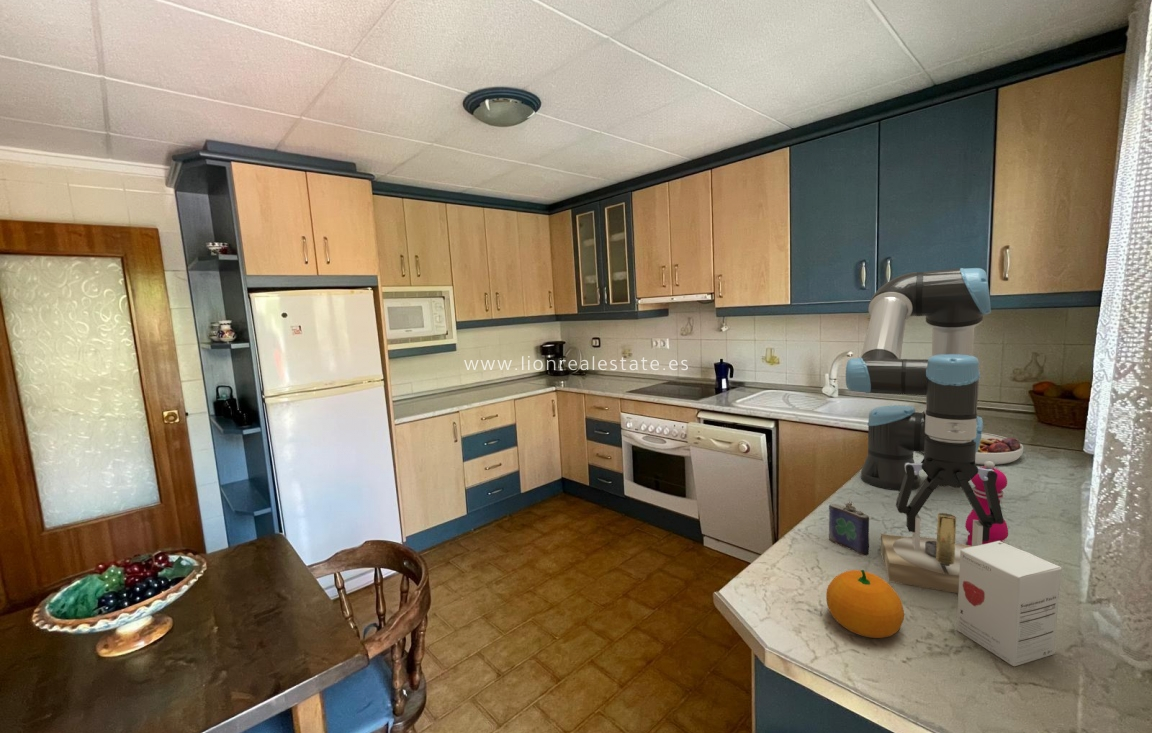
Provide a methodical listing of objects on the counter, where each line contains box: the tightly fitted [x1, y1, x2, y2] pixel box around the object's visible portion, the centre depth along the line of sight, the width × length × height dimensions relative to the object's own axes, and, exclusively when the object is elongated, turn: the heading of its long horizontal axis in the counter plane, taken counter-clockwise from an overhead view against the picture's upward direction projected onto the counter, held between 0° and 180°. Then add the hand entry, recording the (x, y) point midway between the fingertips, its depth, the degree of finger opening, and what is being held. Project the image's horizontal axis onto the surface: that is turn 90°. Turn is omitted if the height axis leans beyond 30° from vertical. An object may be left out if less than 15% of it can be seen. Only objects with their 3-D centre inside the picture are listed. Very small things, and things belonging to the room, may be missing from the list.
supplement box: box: [956, 541, 1063, 667], centre depth 76 cm, size 9×9×15 cm
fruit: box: [826, 569, 905, 639], centre depth 82 cm, size 12×12×10 cm
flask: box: [828, 501, 870, 557], centre depth 108 cm, size 9×3×11 cm, turn 26°
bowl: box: [922, 432, 1024, 466], centre depth 164 cm, size 30×30×8 cm
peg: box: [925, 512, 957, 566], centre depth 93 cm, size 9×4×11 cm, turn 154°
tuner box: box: [879, 533, 972, 594], centre depth 96 cm, size 15×18×4 cm
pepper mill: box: [964, 461, 1009, 546], centre depth 103 cm, size 7×7×20 cm
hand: (945, 551), depth 90 cm, fingers open, 9 cm apart
